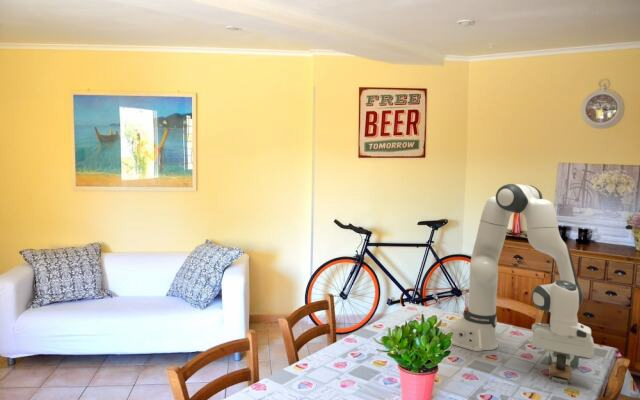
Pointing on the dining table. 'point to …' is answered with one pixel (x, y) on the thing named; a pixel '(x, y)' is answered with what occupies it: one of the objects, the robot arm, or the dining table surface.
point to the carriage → (560, 368)
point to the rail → (560, 379)
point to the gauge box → (573, 363)
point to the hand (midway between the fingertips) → (561, 363)
